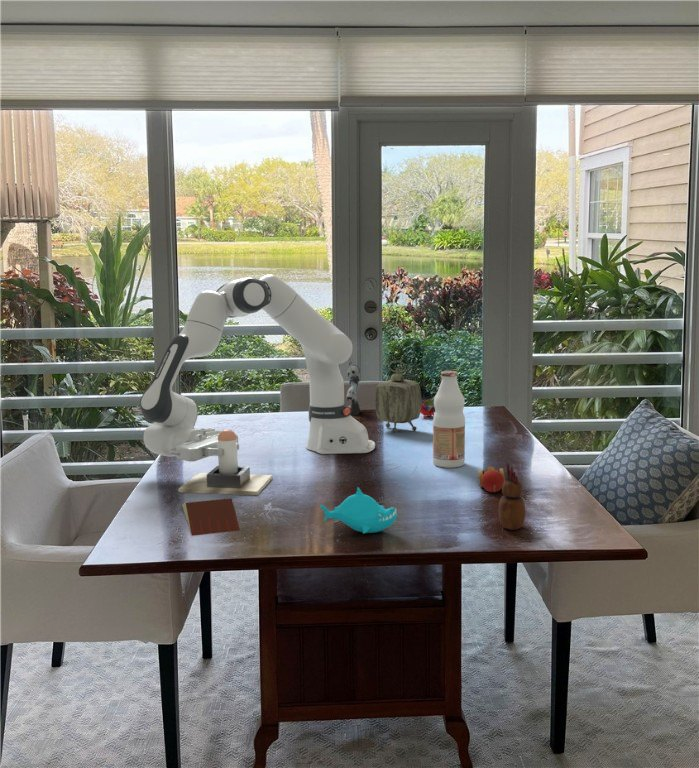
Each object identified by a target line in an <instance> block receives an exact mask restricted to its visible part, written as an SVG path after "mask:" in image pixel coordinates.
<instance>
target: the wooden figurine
mask: <svg viewBox="0 0 699 768" xmlns="http://www.w3.org/2000/svg"><path fill="white" fill-rule="evenodd" d="M518 478H519V477H518V475H516V472H515V471H514V468H513V466H510V465H509V463H506V475H505V482H504V483H503V485H502V488H501V492H502V496H501V497H500V500H499V502H498V518H499V521H500V524H501V526H502V528H504V529H506V530H509V531H510V530H512V531H513V530H519V529H521V528H522V527H523V524H524V522H525V518H526V505H525V502H524V500H523V498H522V497H521V496H522V494H523V485H522V483H521V481H519V479H518Z"/></svg>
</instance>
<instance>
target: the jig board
mask: <svg viewBox="0 0 699 768" xmlns="http://www.w3.org/2000/svg"><path fill="white" fill-rule="evenodd" d="M208 473H209V472H197V473H196V474H195V475H193V476H192V477H191V478H190V479H188V480H187V481H186V482H184V484H183V485H181V486H180V487H179V488H178V493H184V494H185V493H186V494H189V493H191V494H215V495H242V496H243V495H246V496H247V495H249V496H250V495H251V496H258V495H259V494H260V493H262V491H263V490H264V488H266V486H267V485H268V484H269V483H270V482H271V480H272V479H273V474H251V473H250V479H249V480H248V481H247V482H246V483H245V484H244V485H243V486H242V487H241V488H215V487H207V474H208Z"/></svg>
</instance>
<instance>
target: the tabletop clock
mask: <svg viewBox="0 0 699 768" xmlns="http://www.w3.org/2000/svg"><path fill="white" fill-rule="evenodd" d="M395 363H397V364H402V365H403V366H404V369H403V370H400V369H399V368H396V369H395V370H394V369H392V368H391V365H392V364H395ZM388 369H389V370H390V371H391V372H393V374H392V375H391V376H390V379H389V380H385V381H383V382H379V383H377V386H376V390H375V399H374V400H375V412H376V413H375V414H376V417H377V419H379V420H381V421H383V422H387V423H385V427H386V428H390V427H391V424H394V426H393V428H392V432H393V433H397V432H398V429H397V424H407V423H408V424H409V425H410V426H411V429H412V431H413V432H416V431H417V426H414V424H413V422H412V421H414V420H417V419H419V418H420V415H421V413H420V412H421V405H422V391H421V386H420V384H419V382H417V381H415V380H409V379H405V376H404V375H403V374H402V373H405V371H406V370H407V365H406V363H405V362H403V361H400V360H392V361H390V362H389V363H388ZM390 423H391V424H390Z"/></svg>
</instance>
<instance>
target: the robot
mask: <svg viewBox="0 0 699 768" xmlns="http://www.w3.org/2000/svg"><path fill="white" fill-rule="evenodd" d="M360 371H361V370H360V367H359V366H358V365H356V364H353V362H352V361H350V362H349V364H348V367H347V369H346V372H347V379H348V380H349V385H350V387H349V388H348V389H347V393H346V400H347V401H349V402H350V401H351V403H350V405H349V406H350V410H351V413H350V416H358V415H360V414H359V413H360V412H361V408H360V405H359V402H358V400H357V399H358V398H357V394H358V393H359V392H360V390H361V385H360V377H359V376H358V375H359V374H360V373H361V372H360Z"/></svg>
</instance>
